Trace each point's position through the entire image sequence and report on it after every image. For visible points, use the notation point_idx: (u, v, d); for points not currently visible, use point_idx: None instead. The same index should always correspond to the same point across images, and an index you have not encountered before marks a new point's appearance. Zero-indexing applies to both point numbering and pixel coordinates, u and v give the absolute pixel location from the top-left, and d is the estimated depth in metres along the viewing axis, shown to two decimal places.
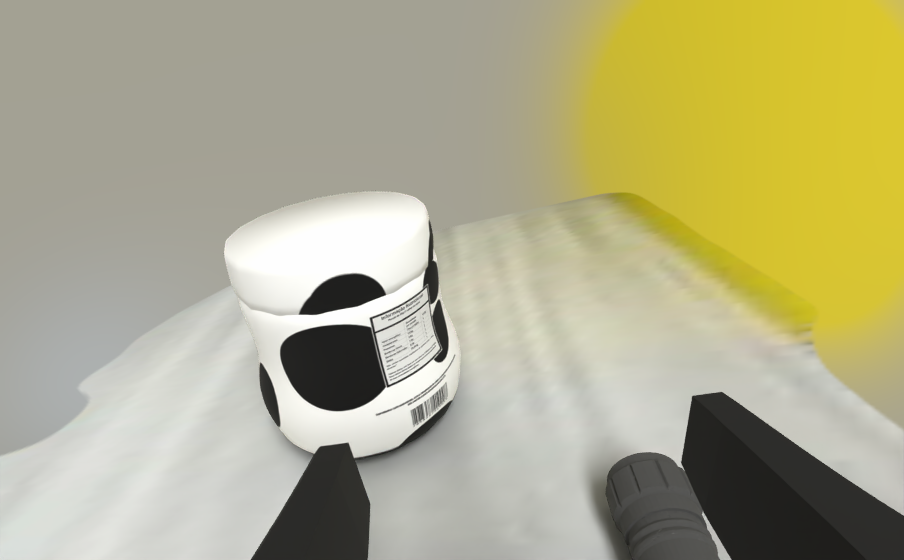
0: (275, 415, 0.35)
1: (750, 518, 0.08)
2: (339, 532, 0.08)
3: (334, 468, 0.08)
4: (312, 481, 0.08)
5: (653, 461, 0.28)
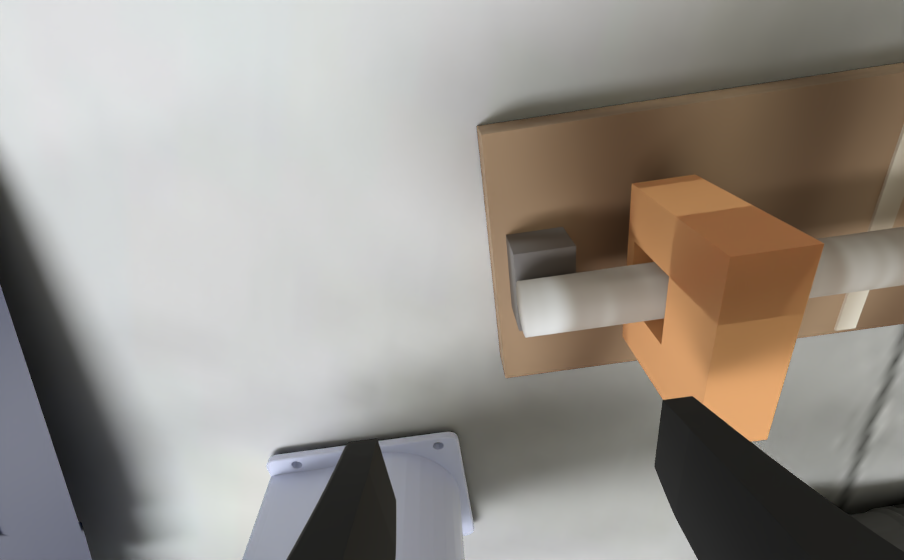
0: None
1: (715, 522, 0.08)
2: (372, 528, 0.08)
3: (366, 464, 0.08)
4: (345, 477, 0.08)
5: None
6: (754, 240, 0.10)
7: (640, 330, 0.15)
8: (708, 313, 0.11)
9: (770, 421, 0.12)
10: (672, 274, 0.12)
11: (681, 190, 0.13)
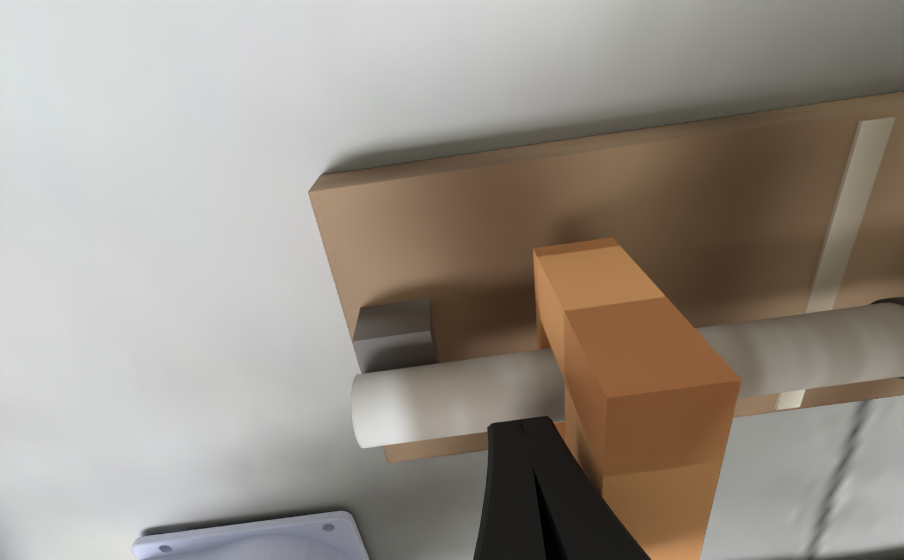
0: None
1: (546, 545, 0.08)
2: None
3: (523, 443, 0.08)
4: (506, 455, 0.08)
5: None
6: (649, 365, 0.07)
7: None
8: (597, 453, 0.08)
9: None
10: (566, 380, 0.09)
11: (586, 264, 0.10)
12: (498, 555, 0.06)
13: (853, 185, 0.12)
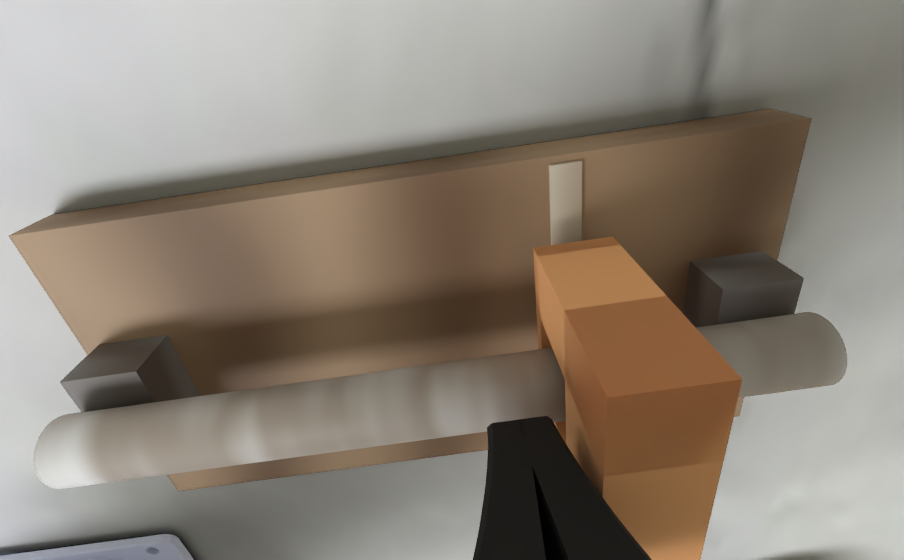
0: None
1: (546, 544, 0.08)
2: None
3: (522, 443, 0.08)
4: (506, 455, 0.08)
5: None
6: (650, 365, 0.07)
7: None
8: (597, 453, 0.08)
9: None
10: (567, 379, 0.09)
11: (587, 263, 0.10)
12: (498, 555, 0.06)
13: (561, 225, 0.12)
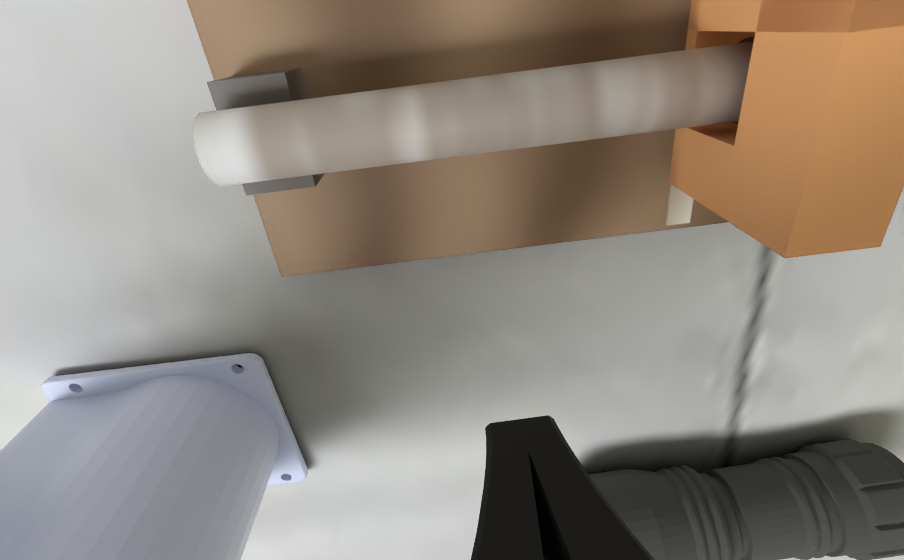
0: None
1: (547, 544, 0.08)
2: None
3: (521, 443, 0.08)
4: (504, 455, 0.08)
5: None
6: None
7: (699, 151, 0.12)
8: (827, 32, 0.08)
9: (889, 215, 0.09)
10: (761, 23, 0.09)
11: None
12: (495, 555, 0.06)
13: None
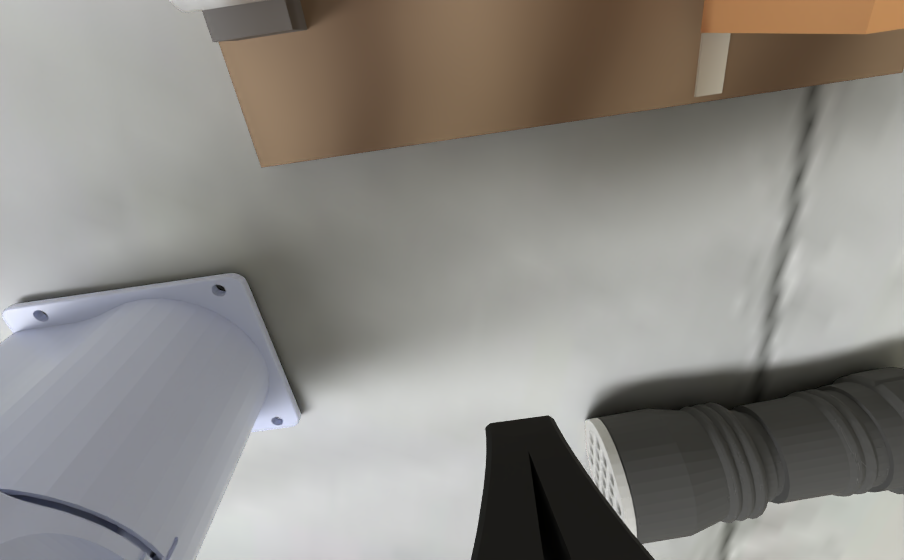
0: None
1: (547, 544, 0.08)
2: None
3: (521, 443, 0.08)
4: (504, 455, 0.08)
5: None
6: None
7: None
8: None
9: None
10: None
11: None
12: (495, 555, 0.06)
13: None
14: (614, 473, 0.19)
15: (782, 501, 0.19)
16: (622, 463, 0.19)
